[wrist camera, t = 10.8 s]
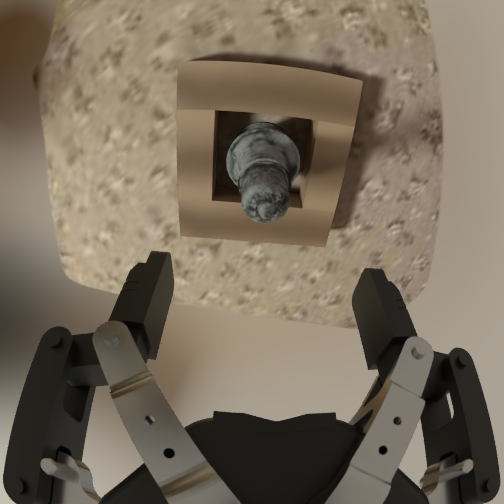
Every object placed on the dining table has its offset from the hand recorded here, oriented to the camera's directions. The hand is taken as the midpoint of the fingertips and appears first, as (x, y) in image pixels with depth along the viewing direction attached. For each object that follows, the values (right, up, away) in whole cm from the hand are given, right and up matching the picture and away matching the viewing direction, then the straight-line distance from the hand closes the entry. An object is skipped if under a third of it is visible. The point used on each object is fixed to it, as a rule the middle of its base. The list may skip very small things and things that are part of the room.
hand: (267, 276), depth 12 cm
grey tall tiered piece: (0, +10, +13) cm, 17 cm away
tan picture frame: (0, +10, +13) cm, 17 cm away
